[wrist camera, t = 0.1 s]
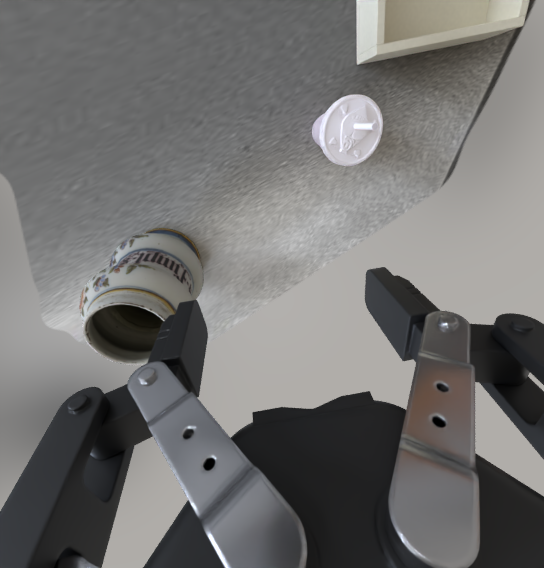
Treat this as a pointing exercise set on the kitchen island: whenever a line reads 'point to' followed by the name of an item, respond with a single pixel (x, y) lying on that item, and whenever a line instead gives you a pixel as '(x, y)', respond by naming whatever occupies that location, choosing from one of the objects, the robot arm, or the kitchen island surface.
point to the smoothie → (349, 130)
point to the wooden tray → (430, 24)
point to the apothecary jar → (139, 294)
